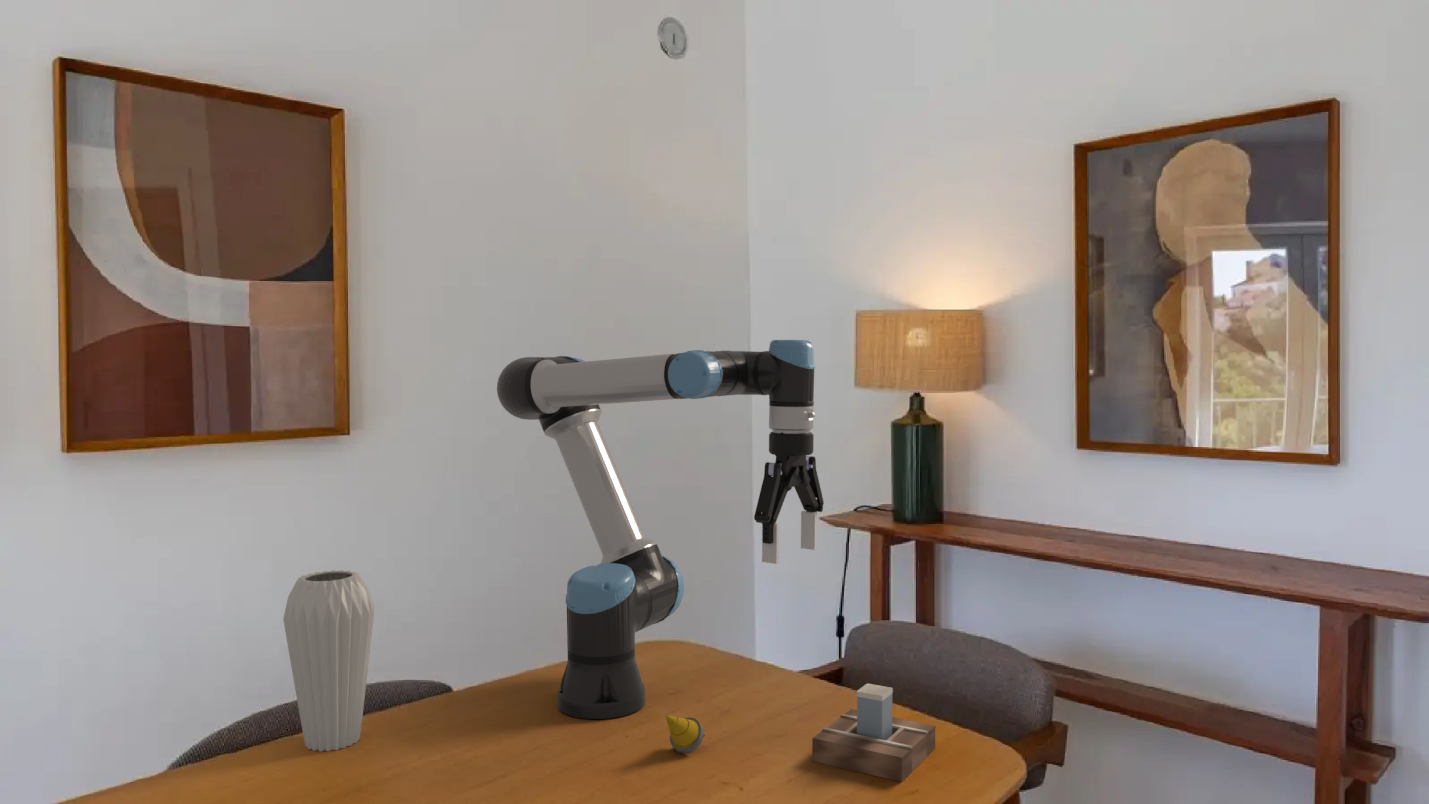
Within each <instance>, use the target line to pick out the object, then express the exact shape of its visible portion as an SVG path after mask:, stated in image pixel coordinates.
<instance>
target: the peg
mask: <svg viewBox="0 0 1429 804" xmlns="http://www.w3.org/2000/svg"><path fill="white" fill-rule="evenodd" d="M893 689H894V688H893V687H889V686H883V685H877V684H872V683H866V684H864V685H863V686H862V687H860V688H859V689H858V690H856V710H857V734H858V735H863V736H867V737H872V738H877V739H881V740H887V739H888V738H889V737H890V736H892V717H893V693H894V690H893Z"/></svg>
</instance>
